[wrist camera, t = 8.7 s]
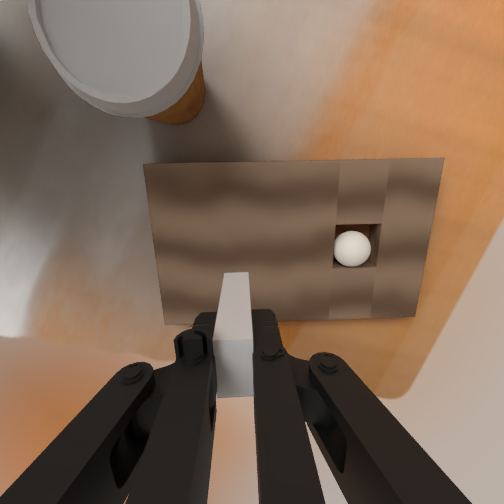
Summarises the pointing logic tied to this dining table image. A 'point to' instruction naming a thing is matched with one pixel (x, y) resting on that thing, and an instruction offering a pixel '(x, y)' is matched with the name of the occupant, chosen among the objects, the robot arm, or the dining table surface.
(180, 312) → the hole board
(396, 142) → the dining table surface
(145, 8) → the disposable coffee cup
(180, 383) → the robot arm
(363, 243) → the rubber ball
